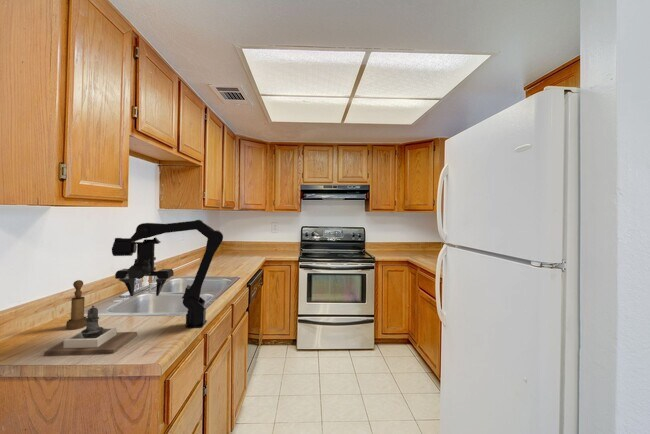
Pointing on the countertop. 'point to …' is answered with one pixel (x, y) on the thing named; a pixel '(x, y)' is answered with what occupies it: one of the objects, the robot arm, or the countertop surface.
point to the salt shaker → (92, 324)
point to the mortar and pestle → (77, 308)
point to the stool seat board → (92, 343)
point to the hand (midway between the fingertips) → (144, 296)
